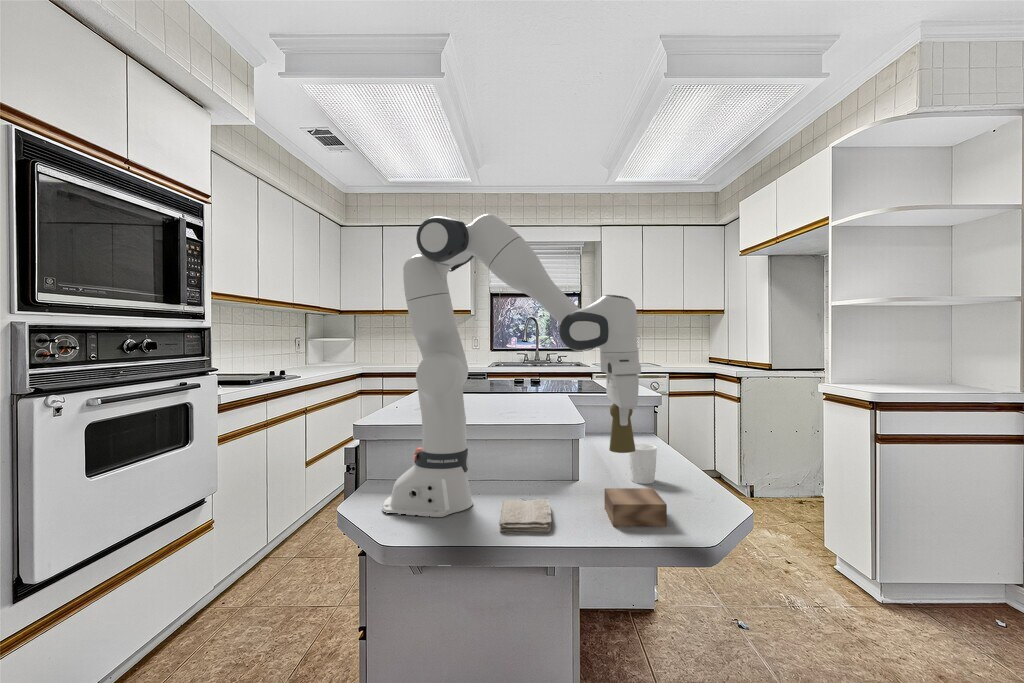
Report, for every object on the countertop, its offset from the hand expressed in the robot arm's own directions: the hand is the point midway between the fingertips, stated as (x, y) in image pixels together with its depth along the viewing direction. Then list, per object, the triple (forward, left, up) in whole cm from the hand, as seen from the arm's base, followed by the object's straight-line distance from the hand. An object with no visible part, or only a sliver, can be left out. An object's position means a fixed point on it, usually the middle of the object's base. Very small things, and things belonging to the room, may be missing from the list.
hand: (621, 423), depth 125 cm
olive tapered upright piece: (0, 0, -7) cm, 7 cm away
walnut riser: (+3, 0, -22) cm, 23 cm away
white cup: (+12, +30, -23) cm, 40 cm away
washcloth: (-23, -1, -23) cm, 32 cm away
